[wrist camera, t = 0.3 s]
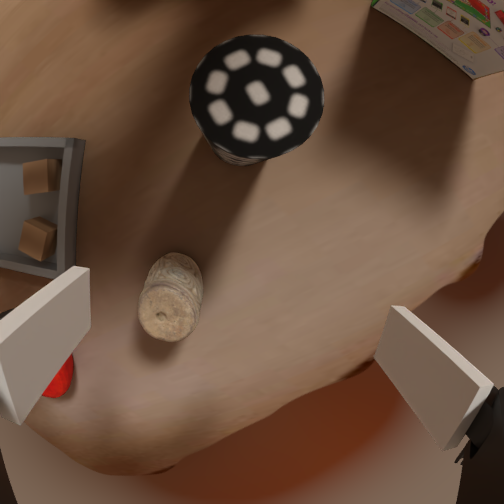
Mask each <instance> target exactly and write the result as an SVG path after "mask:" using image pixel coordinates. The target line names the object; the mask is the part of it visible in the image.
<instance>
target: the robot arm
mask: <svg viewBox="0 0 504 504" xmlns="http://www.w3.org/2000/svg"><path fill="white" fill-rule="evenodd" d="M90 328H91V314H90V268H84V267H78V266H73V267H71V268H70V269H69V270H67V271H66V272H64V273H63V274H61V275H60V276H59V277H57V278H56V279H54V280H53V281H52V282H50V283H49V284H47V285H46V286H45V287H43V288H42V289H40V290H39V291H38V292H36V293H35V294H34V295H32V296H31V297H30V298H28V299H27V300H26V301H24V302H23V303H22V304H20V305H19V306H18V307H16V308H13V309H10V310H8V311H5V312H2V313H1V314H0V414H1V417H2V418H4V419H7V420H9V421H11V422H14V423H16V424H18V425H22V423H23V422H24V420H25V419H26V417H27V416H28V414H29V413H30V411H31V410H32V408H33V407H34V405H35V404H36V402H37V401H38V399H39V398H40V396H41V395H42V393H43V392H44V391H45V389H46V388H47V386H48V385H49V384H50V382H51V381H52V379H53V378H54V377H55V375H56V374H57V372H58V371H59V370H60V368H61V367H62V365H63V364H64V363H65V361H66V360H67V359H68V357H69V356H70V355H71V353H72V352H73V351H74V349H75V348H76V347H77V345H78V344H79V343H80V341H81V340H82V339H83V337H84V336H85V335H86V334H87V332H88V331H89V330H90ZM374 358H375V360H376V361H377V362H378V364H379V365H380V366H381V368H382V369H383V370H384V372H385V373H386V374H387V376H388V377H389V378H390V380H391V381H392V382H393V384H394V385H395V387H396V388H397V389H398V391H399V392H400V393H401V395H402V396H403V397H404V399H405V400H406V402H407V403H408V404H409V406H410V407H411V408H412V410H413V411H414V413H415V414H416V415H417V417H418V418H419V419H420V421H421V422H422V424H423V425H424V426H425V428H426V429H427V431H428V432H429V434H430V435H431V436H432V438H433V439H434V441H435V442H436V443H437V445H438V446H439V448H440V449H441V451H445V450H448V449H452V448H455V447H457V446H458V445H459V443H460V442H461V440H462V439H463V437H464V436H465V434H466V435H467V436H468V437H469V439H470V440H469V441H468V443H467V444H466V446H465V447H464V448H463V450H462V451H461V453H460V454H459V456H458V457H457V458H456V460H455V463H457V462H458V461H459V460H460V459H461V458H463V461H462V462H461V465H463V467H462V473H461V479H460V486H459V491H458V496H457V502H456V504H504V387H502V388H500V389H499V390H498V389H497V388H496V387H495V386H494V384H493V383H492V382H491V381H490V380H489V379H488V378H487V377H485V376H484V375H483V374H482V373H481V372H480V371H479V370H478V369H477V368H475V367H474V366H473V365H472V364H471V363H470V362H469V361H467V360H466V359H465V358H464V357H463V356H462V355H461V354H460V353H459V352H457V351H456V350H455V349H454V348H453V347H452V346H451V345H449V344H448V343H447V342H446V341H445V340H444V339H442V338H441V337H440V336H439V335H438V334H437V333H435V332H434V331H433V330H432V329H431V328H429V327H428V326H427V325H426V324H425V323H424V322H422V321H421V320H420V319H419V318H417V317H416V316H415V315H414V314H413V313H412V312H410V311H409V310H408V309H407V308H405V307H404V306H392V305H391V307H390V310H389V314H388V317H387V320H386V323H385V326H384V329H383V332H382V335H381V338H380V341H379V344H378V347H377V350H376V353H375V356H374ZM0 504H18V503H17V501H16V498H15V496H14V493H13V490H12V487H11V484H10V481H9V478H8V475H7V471H6V468H5V464H4V461H3V457H2V453H1V449H0Z"/></svg>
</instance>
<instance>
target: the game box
mask: <svg viewBox="0 0 504 504" xmlns="http://www.w3.org/2000/svg"><path fill="white" fill-rule="evenodd" d="M371 6H372V7H373V8H375V9H377V10H378V11H380V12H382V13H384V14H385V15H387V16H389V17H390V18H392V19H393V20H395V21H396V22H398V23H400V24H401V25H403V26H404V27H406V28H407V29H409V30H410V31H412V32H413V33H414V34H416V35H417V36H419V37H420V38H422V39H423V40H424V41H426V42H427V43H428V44H430V45H431V46H432V47H434V48H435V49H437V50H438V51H439V52H440V53H442V54H443V55H444V56H446V57H447V58H448V59H449V60H451V61H452V62H453V63H454V64H456V65H457V66H458V67H459V68H460V69H462V70H463V71H464V72H465V73H466V74H467V75H468V76H470V77H471V78H472V79H473V80H475V79H478V78H481V77H484V76H488V75H491V74H495V73H498V72H502V71H504V0H373V2H372V4H371Z"/></svg>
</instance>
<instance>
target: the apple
mask: <svg viewBox="0 0 504 504" xmlns="http://www.w3.org/2000/svg"><path fill="white" fill-rule="evenodd" d="M72 375H73V357H72V353H71V355H70V356H69V357H68V359H67V360H66V361H65V363H64V364H63V365H62V367H61V368H60V370H59V371H58V372H57V374H56V375H55V377H54V378H53V379H52V381H51V382H50V384H49V385H48V386H47V388H46V389H45V391H44V392H43V393H42V396H46V397H51V398H56V397H60V396H62V395H63V394H64V393H65V392H66V391H67V390H68V388H69V386H70V383H71V380H72Z"/></svg>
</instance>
